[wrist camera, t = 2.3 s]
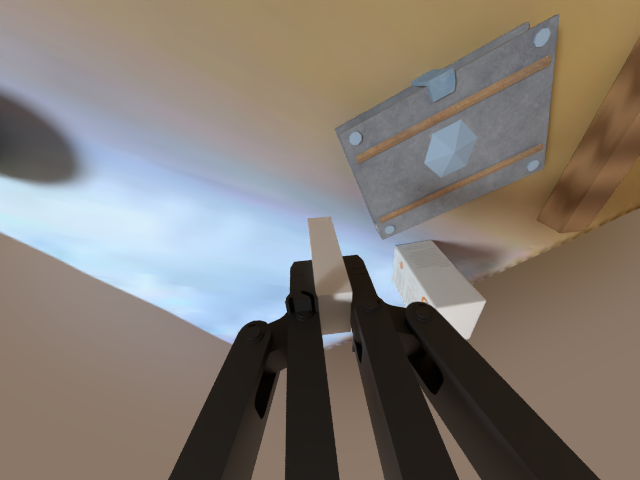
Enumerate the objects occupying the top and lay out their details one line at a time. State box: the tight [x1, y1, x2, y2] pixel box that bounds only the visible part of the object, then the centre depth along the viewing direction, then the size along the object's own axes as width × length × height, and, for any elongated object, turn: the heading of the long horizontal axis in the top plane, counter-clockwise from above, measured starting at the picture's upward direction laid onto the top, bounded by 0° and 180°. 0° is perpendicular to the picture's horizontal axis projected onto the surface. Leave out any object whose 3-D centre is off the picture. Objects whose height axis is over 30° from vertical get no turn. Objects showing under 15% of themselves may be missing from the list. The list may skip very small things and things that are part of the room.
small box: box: [392, 240, 486, 339], centre depth 34 cm, size 8×6×13 cm
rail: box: [537, 38, 640, 233], centre depth 29 cm, size 24×4×4 cm, turn 3°
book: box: [335, 14, 559, 239], centre depth 27 cm, size 21×16×5 cm
